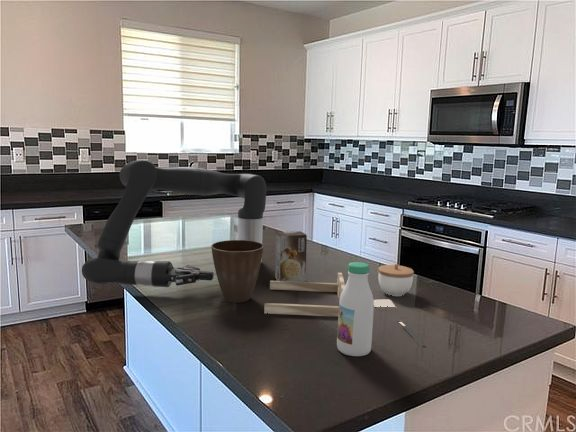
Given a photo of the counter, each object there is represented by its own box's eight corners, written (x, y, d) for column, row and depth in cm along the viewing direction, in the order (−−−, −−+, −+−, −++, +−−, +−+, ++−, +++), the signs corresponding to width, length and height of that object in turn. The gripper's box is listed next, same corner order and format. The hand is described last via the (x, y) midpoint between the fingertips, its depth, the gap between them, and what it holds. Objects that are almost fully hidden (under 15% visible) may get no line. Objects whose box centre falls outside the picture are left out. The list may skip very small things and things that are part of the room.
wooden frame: (270, 288, 145) (270, 269, 144) (340, 291, 144) (341, 272, 143) (264, 313, 124) (264, 292, 123) (346, 317, 123) (348, 295, 122)
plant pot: (202, 304, 129) (202, 248, 127) (222, 288, 144) (222, 237, 141) (253, 310, 126) (254, 253, 123) (268, 293, 140) (269, 242, 138)
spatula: (389, 303, 136) (390, 299, 136) (436, 348, 107) (436, 342, 107) (370, 304, 135) (370, 299, 135) (411, 349, 106) (412, 343, 106)
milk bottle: (367, 342, 108) (372, 259, 105) (374, 357, 101) (380, 269, 97) (334, 341, 108) (338, 259, 105) (339, 357, 100) (344, 268, 97)
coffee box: (300, 276, 158) (302, 230, 156) (306, 282, 152) (307, 234, 150) (274, 277, 156) (275, 231, 153) (279, 283, 150) (280, 235, 147)
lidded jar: (370, 289, 147) (372, 260, 146) (399, 286, 151) (401, 258, 150) (389, 300, 137) (391, 270, 136) (419, 297, 141) (421, 267, 140)
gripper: (146, 267, 127) (208, 270, 127) (161, 255, 140) (217, 257, 140) (146, 293, 129) (208, 296, 128) (161, 279, 142) (217, 281, 141)
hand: (213, 276), depth 134 cm, fingers closed
